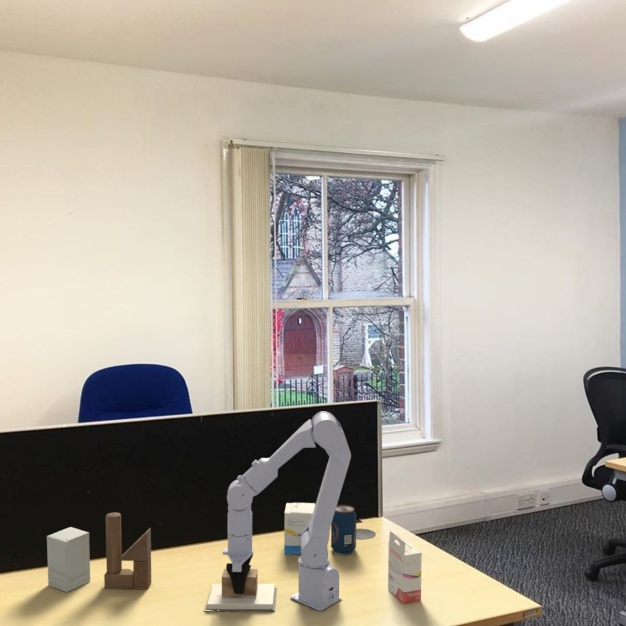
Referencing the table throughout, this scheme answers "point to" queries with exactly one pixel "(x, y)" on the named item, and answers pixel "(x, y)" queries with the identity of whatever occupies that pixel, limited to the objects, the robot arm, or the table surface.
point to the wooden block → (126, 558)
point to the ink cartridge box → (404, 570)
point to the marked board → (243, 600)
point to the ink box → (296, 525)
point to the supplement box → (68, 559)
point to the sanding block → (250, 585)
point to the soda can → (343, 530)
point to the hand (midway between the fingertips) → (240, 588)
